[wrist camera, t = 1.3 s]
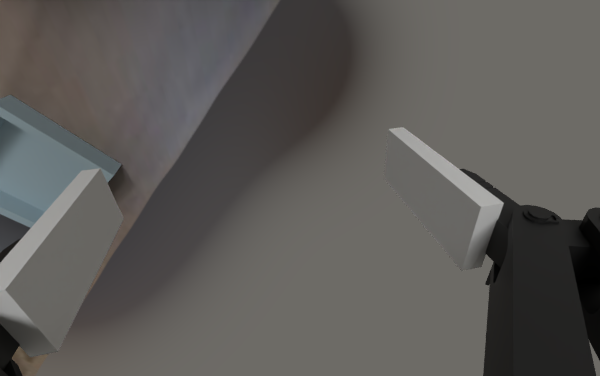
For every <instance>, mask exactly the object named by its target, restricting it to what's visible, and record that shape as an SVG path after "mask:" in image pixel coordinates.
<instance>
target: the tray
mask: <svg viewBox="0 0 600 376" xmlns="http://www.w3.org/2000/svg"><path fill="white" fill-rule="evenodd" d="M121 165H122V164H120V163H119V162H117V161H115V160H114V159H112V158H111V157H109V156H107V155H106V154H104V153H103V152H101V151H99V150H98V149H96V148H95V147H93V146H92V145H90V144H88V143H87V142H85V141H84V140H82V139H80V138H79V137H77V136H76V135H74V134H72V133H71V132H69V131H68V130H66V129H64V128H63V127H61V126H60V125H58V124H56V123H55V122H53V121H52V120H50V119H49V118H47V117H45V116H44V115H42V114H41V113H39V112H37V111H36V110H34V109H33V108H31V107H29V106H28V105H26V104H25V103H23V102H21V101H20V100H18V99H17V98H15V97H13V96H12V95H9V96H6V97H4V98H1V99H0V214H1V215H3V216H6V217H8V218H10V219H12V220H14V221H17V222H19V223H21V224H23V225H25V226H28V227H30V228H31V227H32V226H33V225H34V224H35V223H36V222H37V221H38V219H39V218H40V217H41V216H42V215H43V214H44V213H45V211H46V210H47V209H48V208H49V207H50V206H51V205H52V204H53V202H54V201H55V200H56V199H57V198H58V197H59V196H60V194H61V193H62V192H63V191H64V190H65V189H66V188H67V187H68V185H69V184H70V183H71V182H72V181H73V180H74V179H75V177H76V176H77V175H78V174H79V173H80V172H81V171H82V170H90V169H97V168H101V170H102V172H103V175H104V177H105V179H106V181H107V183H108V182H109V181H110V180H111V178H112V177H113V176H114V175H115V173H116V172H117V170H118V169H119V168H120V166H121Z"/></svg>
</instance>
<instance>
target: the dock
mask: <svg viewBox="0 0 600 376" xmlns="http://www.w3.org/2000/svg"><path fill="white" fill-rule="evenodd" d="M29 230H30V227H28V226H25V225H23V224H21V223H19V222H17V221H14V220H12V219H10V218H8V217H6V216H3V215H1V214H0V253H1V252H2V250H4V249H5V248H7V247H8V246H9V245H11V244H12V243H14V242H15V241H17V240H18V239H22V238H23V236H24V235H25V234H26V233H27V232H28V231H29Z"/></svg>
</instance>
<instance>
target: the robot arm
mask: <svg viewBox="0 0 600 376" xmlns="http://www.w3.org/2000/svg"><path fill="white" fill-rule="evenodd" d="M384 179H385V180H386V182H387V183H388V184H389V185H390V187H391V188H392V189H393V190H394V191H395V192H396V194H397V195H398V196H399V197H400V198H401V200H402V201H403V202H404V203H405V204H406V206H407V207H408V208H409V209H410V210H411V211H412V213H413V214H414V215H415V216H416V217H417V218H418V220H419V221H420V222H421V223H422V225H423V226H424V227H425V228H426V229H427V230H428V232H429V233H430V234H431V235H432V236H433V238H434V239H435V240H436V241H437V242H438V243H439V245H440V246H441V247H442V248H443V249H444V251H445V252H446V253H447V254H448V255H449V257H450V258H451V259H452V260H453V261H454V263H455V264H456V265H457V266H458V267H459V268H460V270H461V271H463V270H468V269H472V268H477V267H481V266H482V264H483V261H484V258H485V255H486V254H487V255H488V256H489V257H490V258H491V259H492V260H493V261H494V262H493V265H492V268H491V270H490V273H489V276H488V278H487V281H486V285H489V284H490V290H489V303H488V317H487V332H486V346H485V359H484V374H483V376H596V373H595V368H594V364H593V359H592V354H591V350H590V345H589V341H590V343H591V345H592V347H593V349H594V351H595V353H596V354H597V356H598V358H599V360H600V208H592V209H589V210H588V212H587V213H586V215H585V217H584V219H583V221H582V220H562V219H561V218H560V217H559V216H558V215H556V214H555V213H554V212H551V211H549V210H547V209H545V208H541V207H538V206H531V205H523V206H520V205H518V204H517V203H516V202H514V201H513V200H511V199H510V198H509V197H507V196H506V195H504V194H503V193H502V192H500V191H499V190H498V189H496V188H493V186H492V185H491V184H489V183H488V182H485V180H484V179H482V178H481V177H479V176H478V175H477V174H475V173H472V172H470V171H467V170H465V169H458V168H457V167H455V166H454V165H453V164H451V163H450V162H449V161H447V160H446V159H444V158H443V157H442V156H441V155H439V154H438V153H437V152H435V151H434V150H433V149H431V148H430V147H429V146H427V145H426V144H425V143H423V142H422V141H421V140H419V139H418V138H417V137H415V136H414V135H413V134H411V133H410V132H409V131H407V130H406V129H405V128H403V127H402V128H395V129H388V138H387V149H386V159H385V170H384ZM123 220H124V218H123V215H122V213H121V211H120V209H119V207H118V205H117V202H116V200H115V198H114V196H113V194H112V192H111V190H110V187H109V185H108V183H107V181H106V179H105V177H104V175H103V172H102V170H101V168H97V169H90V170H82V171H81V172H80V173H79V174H78V175H77V176H76V177H75V179H74V180H73V181H72V182H71V183H70V184H69V185H68V187H67V188H66V189H65V190H64V191H63V192H62V193H61V194H60V196H59V197H58V198H57V199H56V200H55V201H54V202H53V204H52V205H51V206H50V207H49V208H48V209H47V210H46V211H45V213H44V214H43V215H42V216H41V217H40V218H39V219H38V221H37V222H36V223H35V224H34V225H33V226H32V227H31V228H30V230H29V231H28V232H27V233H26V234H25V235H24V236H23V238H22V239H18V240H17V241H15V242H14V243H12V244H11V245H9V246H8V247H7V248H5V249H4V250H2V252H1V253H0V376H22V374H21V371H20V369H19V367H18V365H17V364H16V363H15V362H14V361H13V360H12V359H11V358H12V356H13V355H14V353H15V351H16V350H17V348H18V347H19V346H20V347H21V348H22V349H23V350H24V351H25V352H26V353H27V354H28V355H29V356H30V357H34V356H39V355H44V354H49V353H53V352H58V351H59V349H60V346H61V345H62V343H63V341H64V339H65V336H66V335H67V333H68V331H69V329H70V327H71V324H72V323H73V321H74V319H75V316H76V314H77V312H78V310H79V308H80V306H81V304H82V302H83V300H84V298H85V296H86V294H87V292H88V290H89V288H90V286H91V284H92V282H93V280H94V278H95V276H96V274H97V272H98V270H99V268H100V266H101V264H102V262H103V260H104V258H105V256H106V254H107V252H108V250H109V248H110V246H111V244H112V242H113V240H114V238H115V236H116V234H117V232H118V230H119V228H120V226H121V224H122V222H123ZM588 339H589V340H588Z"/></svg>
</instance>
